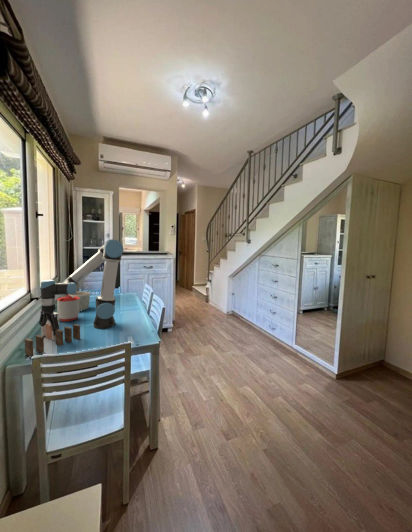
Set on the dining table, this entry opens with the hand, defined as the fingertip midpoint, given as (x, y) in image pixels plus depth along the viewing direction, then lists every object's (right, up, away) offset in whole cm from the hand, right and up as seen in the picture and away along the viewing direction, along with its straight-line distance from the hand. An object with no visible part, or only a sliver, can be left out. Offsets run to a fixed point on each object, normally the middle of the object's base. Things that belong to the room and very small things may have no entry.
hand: (49, 337), depth 156 cm
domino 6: (+17, -1, +1) cm, 17 cm away
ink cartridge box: (-7, +1, +14) cm, 16 cm away
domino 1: (+4, -3, -23) cm, 24 cm away
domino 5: (+14, -1, -4) cm, 15 cm away
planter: (-12, +7, +60) cm, 61 cm away
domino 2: (+7, -3, -18) cm, 20 cm away
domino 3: (0, 0, 0) cm, 0 cm away
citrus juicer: (-8, +4, +36) cm, 37 cm away
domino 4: (+12, -2, -9) cm, 15 cm away
